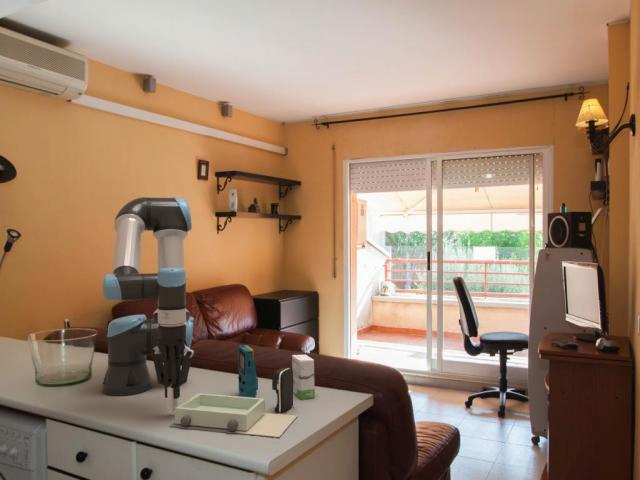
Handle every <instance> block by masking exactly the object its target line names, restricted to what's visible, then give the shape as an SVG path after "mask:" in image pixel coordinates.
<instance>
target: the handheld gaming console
mask: <svg viewBox="0 0 640 480" xmlns="http://www.w3.org/2000/svg"><path fill="white" fill-rule="evenodd" d="M237 378H238V393H239V396H240V397H250V398H257V393H258V390H259V379H258V376H257V372H256V359H255V350H254V349H253V348H252V347H250V346H249V345H243V344H242V345H239V346H238V377H237Z"/></svg>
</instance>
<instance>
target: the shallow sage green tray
mask: <svg viewBox="0 0 640 480" xmlns="http://www.w3.org/2000/svg"><path fill="white" fill-rule="evenodd" d="M265 413H266V398H259V397H256V398H250V397H241V396H237V395H236V396H235V395H226V394H225V395H224V394H214V393H213V394H210V393H201V392H199V393H197V394H196V395H193V396H192V397H190V398H189V399H188V400H186V401H183V402H182V403H181V404H180V405H177V407H176V408H175V410H174V422H175V424H182V425H183V426H188V425H194V426H204V427H214V428H224V429H228V430H230V431H234V430H244V431H247V430H248V429H249V428H250V427H251V426H252V425H253V424H254V423H255V422H256V421H257V420H258V419H259V418H261V417H262V416H263V415H264V414H265Z"/></svg>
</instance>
